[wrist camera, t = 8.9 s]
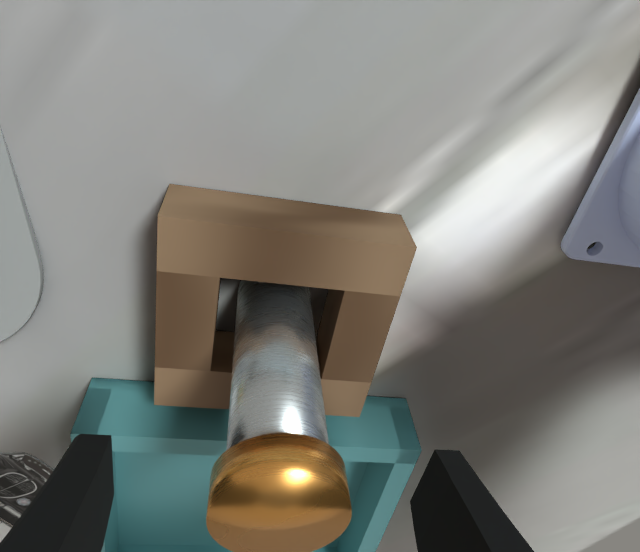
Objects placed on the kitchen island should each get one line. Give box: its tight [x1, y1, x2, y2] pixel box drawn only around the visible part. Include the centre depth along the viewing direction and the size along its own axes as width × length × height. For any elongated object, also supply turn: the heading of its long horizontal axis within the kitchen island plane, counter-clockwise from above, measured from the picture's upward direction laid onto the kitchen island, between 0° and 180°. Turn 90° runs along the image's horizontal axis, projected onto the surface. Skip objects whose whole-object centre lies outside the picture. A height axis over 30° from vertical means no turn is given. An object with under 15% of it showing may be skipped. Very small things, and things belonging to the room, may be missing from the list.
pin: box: [206, 280, 352, 552], centre depth 14 cm, size 3×3×8 cm
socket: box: [154, 184, 417, 417], centre depth 16 cm, size 7×7×2 cm
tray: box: [70, 378, 422, 552], centre depth 21 cm, size 12×11×2 cm
